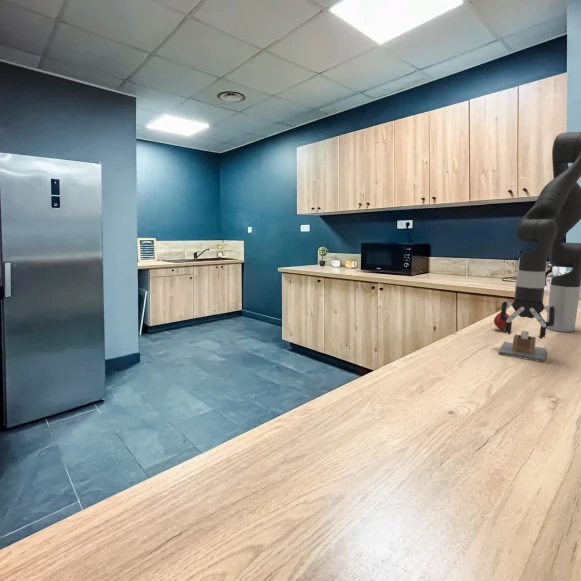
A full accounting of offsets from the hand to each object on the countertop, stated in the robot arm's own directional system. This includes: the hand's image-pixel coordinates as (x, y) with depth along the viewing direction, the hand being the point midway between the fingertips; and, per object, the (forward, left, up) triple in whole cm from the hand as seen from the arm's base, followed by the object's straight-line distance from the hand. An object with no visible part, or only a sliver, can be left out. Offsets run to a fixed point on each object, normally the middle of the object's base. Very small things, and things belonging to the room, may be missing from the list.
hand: (524, 335), depth 119 cm
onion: (-25, -9, -6) cm, 27 cm away
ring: (0, 0, -5) cm, 5 cm away
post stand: (0, 0, -6) cm, 6 cm away
